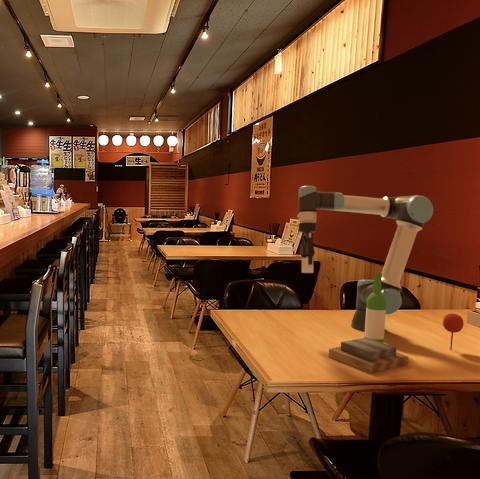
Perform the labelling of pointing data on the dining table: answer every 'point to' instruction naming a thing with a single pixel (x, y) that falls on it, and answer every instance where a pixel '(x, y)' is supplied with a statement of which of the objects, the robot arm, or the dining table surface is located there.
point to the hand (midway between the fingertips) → (307, 272)
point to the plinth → (368, 363)
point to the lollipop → (453, 324)
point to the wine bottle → (375, 312)
